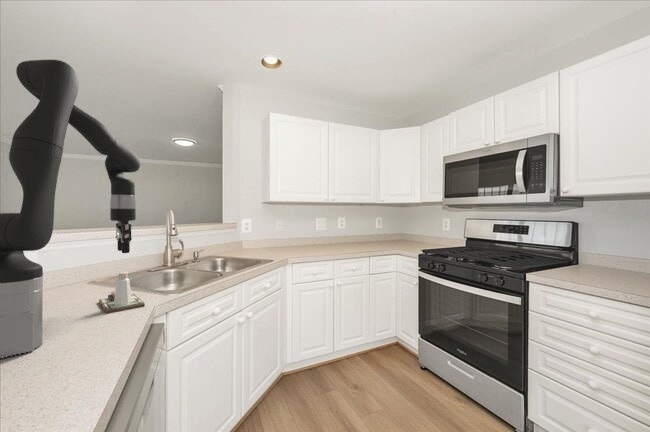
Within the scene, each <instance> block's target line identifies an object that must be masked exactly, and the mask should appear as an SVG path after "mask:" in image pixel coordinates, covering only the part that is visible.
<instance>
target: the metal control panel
mask: <svg viewBox="0 0 650 432" xmlns="http://www.w3.org/2000/svg"><path fill="white" fill-rule="evenodd" d="M131 297H132V302H131V303H129V304H125V305H115V304H114V299H115V297H112V296H111V294H107V298H101V299H98V303H99V305H100V306H101V308H102V309H103V311H104V313H105V314H106V315H107V314H111V313H115V312H121V311H125V310H131V309H136V308H141V307H145V304H146V303H145V302H144V301H143V300H141V299H140V297H138V296H137V295H136V294H135V293H131Z"/></svg>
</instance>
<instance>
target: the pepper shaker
mask: <svg viewBox="0 0 650 432" xmlns="http://www.w3.org/2000/svg"><path fill="white" fill-rule="evenodd" d="M128 274H129V272H128V271H121V272H118V279H117V280H116V285H115V290H114V291H115V299H114V304H115V305H125V304H129V303H131V302H132V297H131V294H132V291H131V284H130V283H131V282H130V279H129V278H128V276H129V275H128Z"/></svg>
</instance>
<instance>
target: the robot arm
mask: <svg viewBox="0 0 650 432" xmlns="http://www.w3.org/2000/svg"><path fill="white" fill-rule="evenodd" d="M15 69H16V71H15V73H16V76H17V78H18V79H17V80H18V81H19V82H20V84H21V85H22V86H23V88H24V89H26V90H27V91H28V92H29V93H30V94H31V95H32V96H33V97H35V98H36V99H37V100H38V101H39V102H38V103H37V105H36V107H35V108H34V109H33V110H32V111H31V112H30V113H29V115H27V116H26V117H25V119H23V120H22V121H21V123H20V124H19V126H18V127H17V128H16V130H15V131H14V133H13V134H12V135H13V136H12V139H11V143H10V144H11V145H10V150H9V153H8V160H9V164H10V168H12V170H13V171H12V172H14V173H13V174H15V176H16V178H17V180H18V181H19V183H20V186H21V189H22V196H23V197H22V204H21V208H20V212H2V213H1V212H0V358H2V357H6V356H11V355H15V356H17V355H16V354H19V355H22V354H21V353H24V354H27V353H26V352H28V353H31V352H30V351H32V352H34V351H35V350H36V349H37V348H39V347H40V345H41V346H42V345H43V331H44V330H43V322H44V321H43V319H44V318H43V314H44V313H43V306H44V305H43V301H44V300H43V299H44V297H43V293H44V291H43V290H44V289H43V288H44V283H43V282H44V281H43V279H44V276H43V275H44V270H43V266H42V265H41V264H40V263H37V262H34V261H32V260H30V259H28V258H27V257H26V255H25V252H33V251H39V250H42V249H43V248H45V247H46V246H47V245H48V244H49V242H50V240H51V238H52V235H53V231H54V224H55V223H54V221H55V201H56V190H57V183H58V176H59V172H60V166H61V163H62V160H63V159H62V158H63V151H64V145H65V140H66V139H65V138H66V134H67V129H68V125H70V126H71V127H72V128H73V129H75V130H76V131H77V132H78V133H79V134H80V135H81V136H82V137H84V139H86V141H87V142H88V143H89V144H90V145H91V146H92V147H93V148H94V149H95V150H96V152H98V153H99V154H101V155H103V156H106V157H105V160H104V166H105V170H106V173H107V176H108V180H109V182H110V202H109V203H110V204H109V206H110V207H109V211H110V214H109V215H110V216H109V217H110V221H113V222H115V221H116V224H115V238H116V241H117V251H118V252H119V251H120V252H121V253H122V254H129V253H130V250H131V247H130V246H131V245H130V243H131V241H132V224H131V223H129V222H131V221H132V222H133V221H136V219H137V217H136V216H137V215H136V212H137V211H136V198H135V195H136V194H135V191H136V189H135V188H136V187H135V182H134V181H133V180H132V179H129V178H126V177H125V174H124V173H135V172H138V171H139V170H140V167H141V163H140V159H139V157H138V156H137V154H135V153H134V152H133V151H132V150H131V149H130V148H129V147H127V146H126V145H124V143H121V142H120V141H118V140H117V138H116V137H115V136H114V134H113V133H112V132H111V130H109V128H108V127H107V126H106V125H105V124H103V123H102V122H101V121H99V120H98V119H97V118H95V117H93V116H92V115H90V114H89V113H87V112H85V111H84V110H82V109H81V108H79V107H78V106H77V105H75V102H76V100H77V96H78V92H79V86H80V85H79V78H78V75H77V73H76V71H75V69H74V68H73V67H72V66H71V65H70V64H69V63H67V62H65V61H64V60H60V59H32V60H25V61H21V62H20V63H19V64H18V65H17V66H16V68H15ZM35 348H36V349H35ZM33 350H34V351H33ZM11 357H12V356H11ZM2 359H3V358H2Z"/></svg>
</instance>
